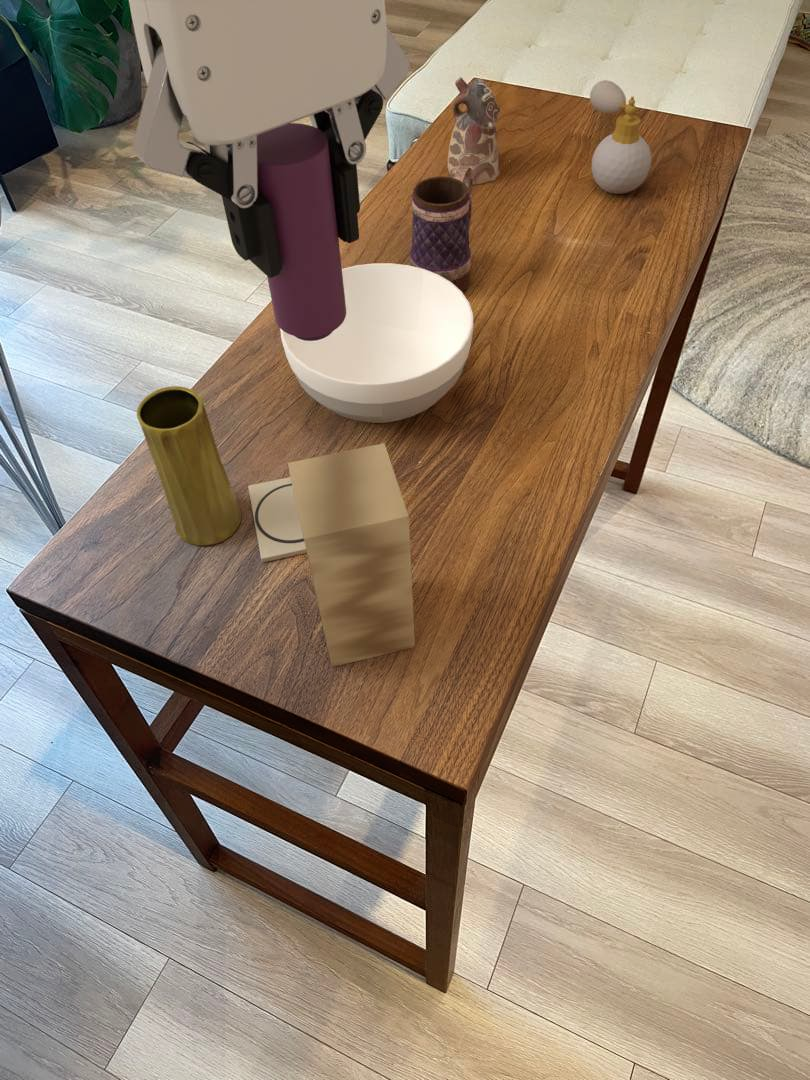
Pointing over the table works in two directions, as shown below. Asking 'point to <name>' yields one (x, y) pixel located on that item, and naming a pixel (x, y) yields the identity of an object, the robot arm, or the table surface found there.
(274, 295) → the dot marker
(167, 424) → the vase
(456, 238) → the mug
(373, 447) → the stand
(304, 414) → the table surface
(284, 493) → the sketch card
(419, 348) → the bowl
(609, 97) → the perfume bottle
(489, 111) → the figurine
